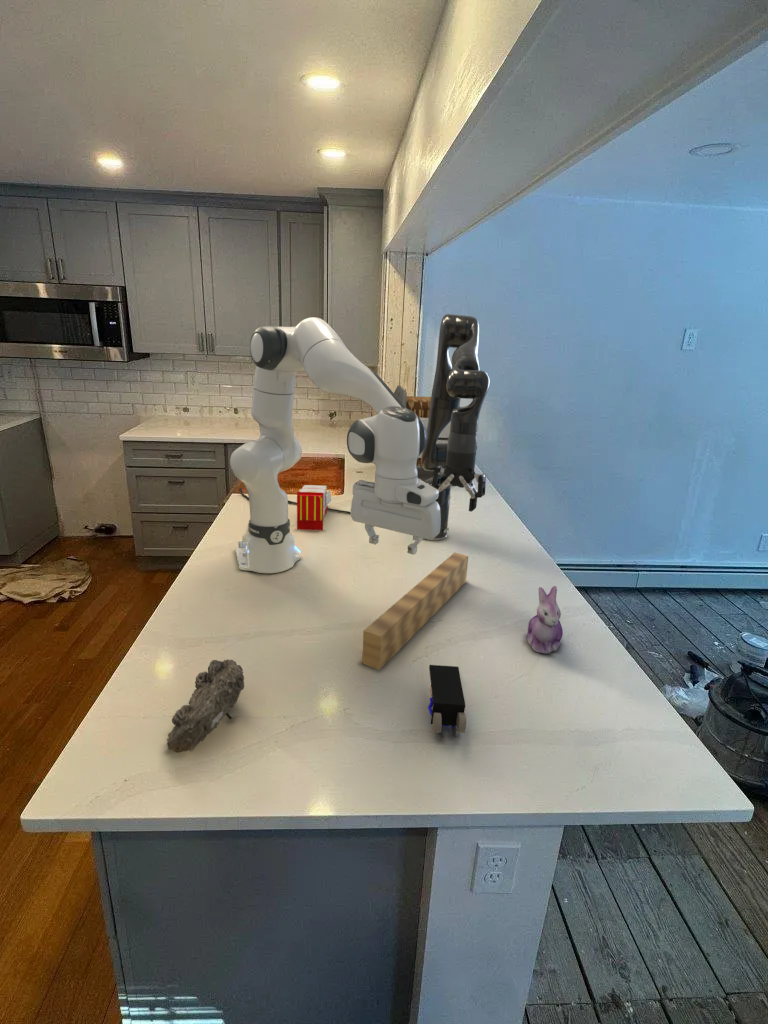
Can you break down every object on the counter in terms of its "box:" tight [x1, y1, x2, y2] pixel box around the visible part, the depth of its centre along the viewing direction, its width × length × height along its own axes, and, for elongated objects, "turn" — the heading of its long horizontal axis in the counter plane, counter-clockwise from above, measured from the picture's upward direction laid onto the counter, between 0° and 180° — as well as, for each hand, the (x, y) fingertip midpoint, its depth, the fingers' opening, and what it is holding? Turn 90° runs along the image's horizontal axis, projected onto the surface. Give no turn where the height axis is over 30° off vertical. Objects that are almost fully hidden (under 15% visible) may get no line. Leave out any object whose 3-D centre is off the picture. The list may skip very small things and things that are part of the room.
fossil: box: [166, 658, 245, 754], centre depth 106 cm, size 22×10×15 cm
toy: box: [296, 484, 332, 531], centre depth 210 cm, size 12×13×30 cm
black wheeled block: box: [427, 664, 467, 738], centre depth 109 cm, size 7×8×15 cm
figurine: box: [526, 585, 564, 655], centre depth 134 cm, size 9×10×15 cm
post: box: [361, 552, 469, 670], centre depth 145 cm, size 51×4×8 cm, turn 151°
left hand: (392, 548), depth 122 cm, fingers open, 8 cm apart
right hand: (456, 507), depth 153 cm, fingers open, 8 cm apart
